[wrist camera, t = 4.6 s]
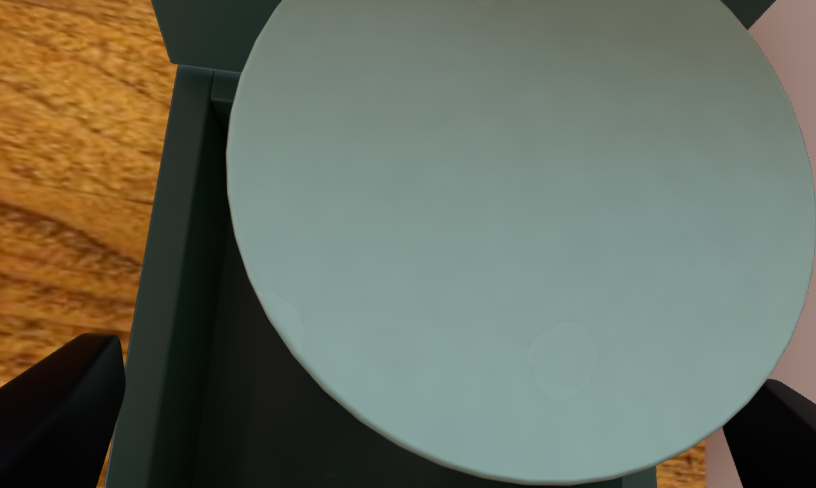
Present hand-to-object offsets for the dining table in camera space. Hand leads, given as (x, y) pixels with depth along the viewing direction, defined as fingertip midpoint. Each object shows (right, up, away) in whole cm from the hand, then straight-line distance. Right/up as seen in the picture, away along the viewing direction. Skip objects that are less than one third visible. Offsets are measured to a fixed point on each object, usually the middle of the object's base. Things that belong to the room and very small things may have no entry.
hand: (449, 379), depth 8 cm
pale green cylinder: (-1, 0, +9) cm, 9 cm away
